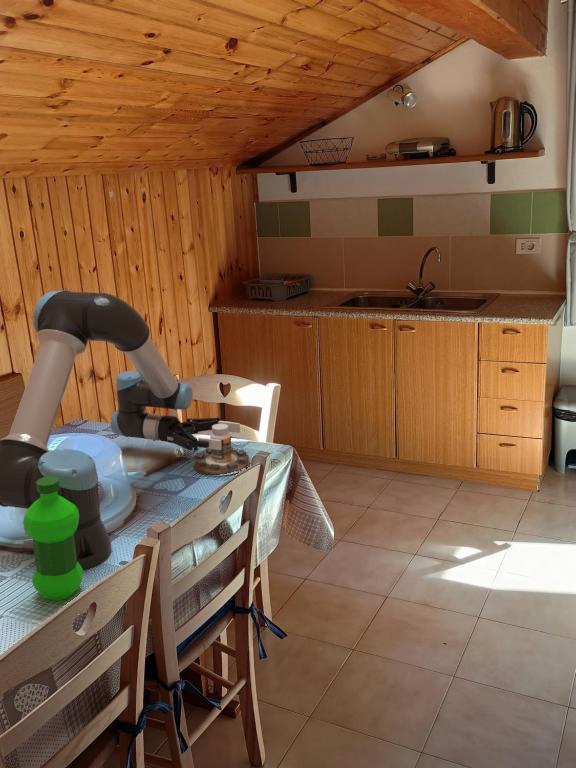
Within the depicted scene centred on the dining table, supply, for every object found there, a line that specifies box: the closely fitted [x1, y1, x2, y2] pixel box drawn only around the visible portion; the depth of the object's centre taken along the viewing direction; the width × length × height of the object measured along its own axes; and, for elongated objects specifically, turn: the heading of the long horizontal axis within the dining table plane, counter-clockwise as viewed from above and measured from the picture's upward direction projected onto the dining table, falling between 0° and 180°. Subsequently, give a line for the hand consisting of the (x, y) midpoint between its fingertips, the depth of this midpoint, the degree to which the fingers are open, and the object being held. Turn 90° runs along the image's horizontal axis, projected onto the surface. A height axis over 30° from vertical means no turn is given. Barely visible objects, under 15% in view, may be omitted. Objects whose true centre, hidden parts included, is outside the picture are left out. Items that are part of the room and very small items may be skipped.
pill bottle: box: [209, 424, 232, 462], centre depth 213 cm, size 6×6×10 cm
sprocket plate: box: [192, 446, 251, 476], centre depth 215 cm, size 16×16×2 cm
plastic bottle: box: [22, 476, 84, 602], centre depth 150 cm, size 10×10×25 cm
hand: (230, 436), depth 212 cm, fingers open, 13 cm apart
